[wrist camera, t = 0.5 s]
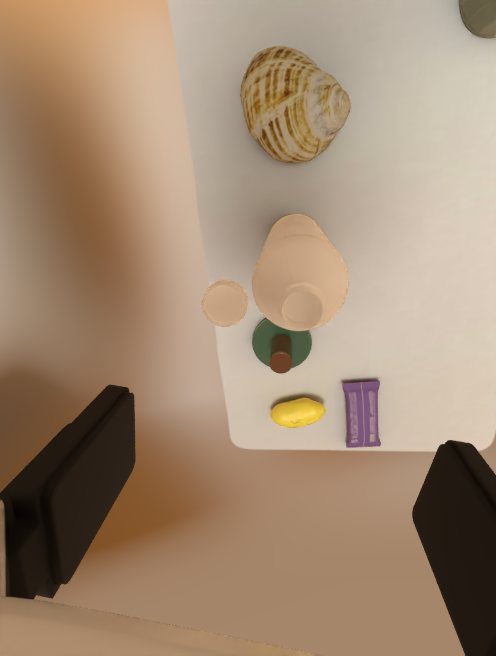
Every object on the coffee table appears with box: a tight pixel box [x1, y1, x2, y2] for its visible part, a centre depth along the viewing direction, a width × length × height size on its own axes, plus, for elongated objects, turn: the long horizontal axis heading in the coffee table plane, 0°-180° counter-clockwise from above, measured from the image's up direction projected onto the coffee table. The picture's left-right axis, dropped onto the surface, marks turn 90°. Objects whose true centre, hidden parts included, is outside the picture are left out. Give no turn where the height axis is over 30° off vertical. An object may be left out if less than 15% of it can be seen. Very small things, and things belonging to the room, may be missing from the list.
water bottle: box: [202, 214, 348, 331], centre depth 29 cm, size 9×6×25 cm
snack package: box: [343, 381, 381, 448], centre depth 48 cm, size 12×2×5 cm
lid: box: [252, 319, 312, 373], centre depth 43 cm, size 8×8×7 cm
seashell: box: [241, 46, 350, 163], centre depth 32 cm, size 10×10×10 cm
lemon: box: [270, 398, 325, 428], centre depth 48 cm, size 4×8×4 cm, turn 101°
